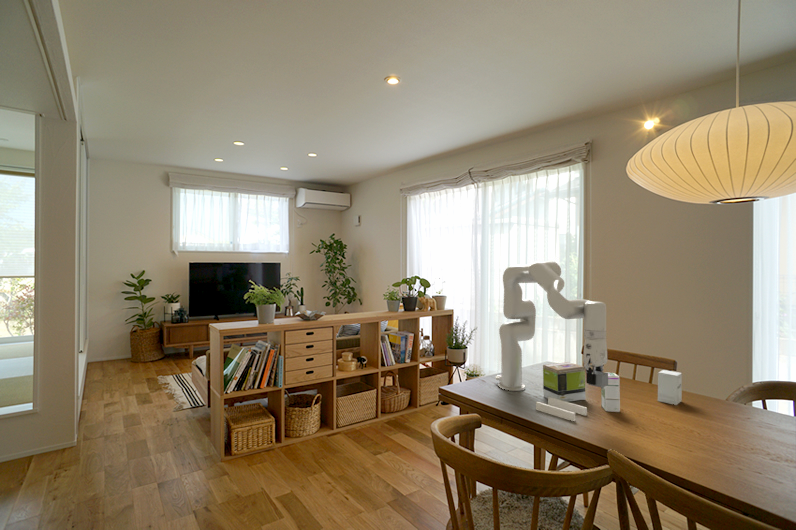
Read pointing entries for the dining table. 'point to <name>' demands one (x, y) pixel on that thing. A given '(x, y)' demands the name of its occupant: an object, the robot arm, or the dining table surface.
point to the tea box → (564, 381)
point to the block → (601, 379)
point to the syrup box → (611, 394)
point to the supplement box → (670, 387)
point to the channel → (564, 407)
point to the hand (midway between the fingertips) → (594, 382)
